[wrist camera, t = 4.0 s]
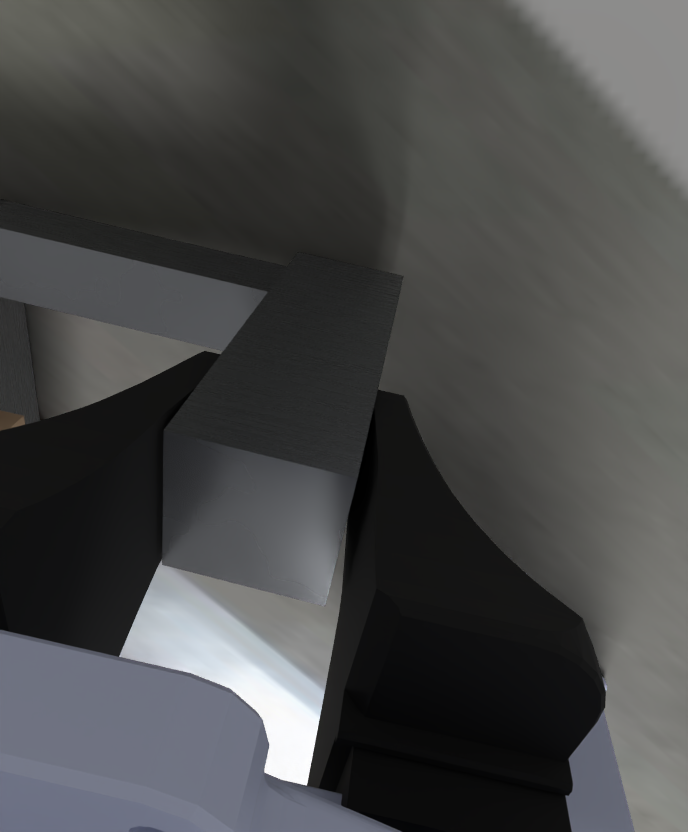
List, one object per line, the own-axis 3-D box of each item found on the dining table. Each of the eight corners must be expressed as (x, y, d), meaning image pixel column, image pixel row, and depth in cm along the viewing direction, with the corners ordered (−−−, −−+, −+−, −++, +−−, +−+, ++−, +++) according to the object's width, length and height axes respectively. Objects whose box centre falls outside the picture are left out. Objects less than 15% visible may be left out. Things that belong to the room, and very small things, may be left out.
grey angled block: (403, 276, 16) (357, 477, 9) (347, 501, 21) (286, 758, 13) (-59, 167, 17) (-479, 271, 9) (-12, 411, 21) (-265, 611, 14)
